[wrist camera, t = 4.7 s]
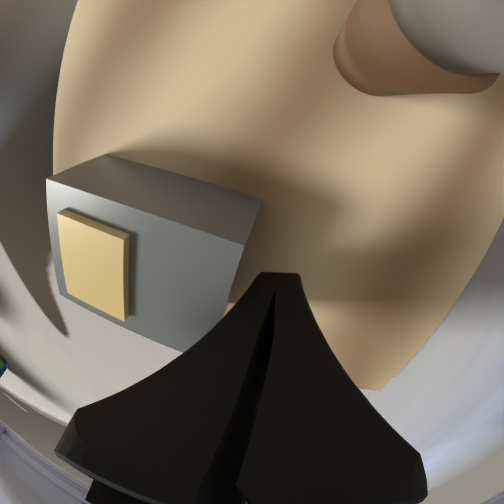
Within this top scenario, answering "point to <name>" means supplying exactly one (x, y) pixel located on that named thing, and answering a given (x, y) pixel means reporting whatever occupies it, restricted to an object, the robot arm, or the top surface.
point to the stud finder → (148, 246)
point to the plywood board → (297, 156)
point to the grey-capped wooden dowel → (421, 46)
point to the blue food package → (2, 366)
